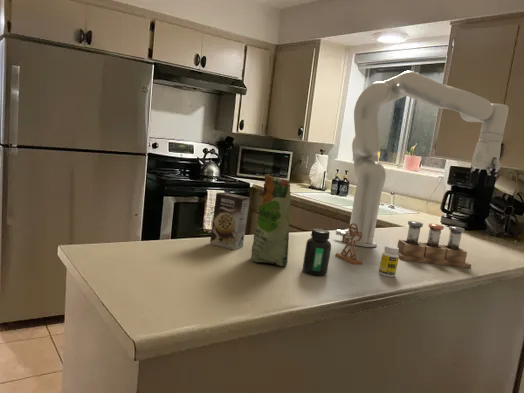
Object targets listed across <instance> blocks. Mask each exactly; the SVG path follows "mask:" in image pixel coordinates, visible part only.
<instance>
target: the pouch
mask: <svg viewBox="0 0 524 393" xmlns="http://www.w3.org/2000/svg"><path fill="white" fill-rule="evenodd" d="M261 197H262V202H260V203H259V204H258V208H257V210H258V212H259V213H258V214H259V215H258V216H257V224H256V227H255V229H254V233H253V242H252V246H251V255H250V260H251V261H252V262H253V263H265V264H270V265H277V266H280V267H285V266H287V265H288V260H289V259H288V256H289V255H288V254H289V242H290V241H289V240H290V239H289V238H290V237H289V236H290V213H291V207H292V206H291V205H292V199H291V183H290V181H289V180H286V179H284V178H283V179H282V178H278V176H277V175H276V176H275V177H274V176H271V175H270V174H269V173H266V174H265V175H264V184H263V192H262V193H261Z"/></svg>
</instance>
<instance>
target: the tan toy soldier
mask: <svg viewBox="0 0 524 393" xmlns="http://www.w3.org/2000/svg"><path fill="white" fill-rule="evenodd" d="M353 224H354V225H355V226H356V228H354V227H351V226H352V225H353ZM348 228H349V232H350V233H349V234H350V237H352V238H346V237H345V235H346V234H348V233H345V234H344V235H343V236H342V239H341V240H342V242H343V243H346V245H345V247H344V248H343V249H342V251H341V252H337V253H335V255H334V256H335V257H336V258H338V259H339V260H340V259H341V261H344V262H347V264H348V263H349V264H350V265H353V266H357V265H362V264H363V261H362V260H361V259H358V257H357V253H356V248H355V246H356V245H355V241H356V240H354V241H353V238H355V236H358V237H360V238H359V239H358V240H357V241H360V240H361V238H362V232H358V226H357V225H356V224H355V223H352V224H350V223H349V227H348ZM351 229H353V230H356V231H354V232H353V231H352V230H351ZM359 233H360V234H359ZM356 234H357V235H356ZM344 239H345V240H346V241H345V240H344ZM350 239H351V242H350V243H351V244H350V243H349V240H350ZM352 241H353V242H352ZM352 243H353V244H352ZM348 246H349V248H348ZM351 247H352V248H351ZM347 248H348V250H347ZM346 250H347V251H346ZM352 250H353V251H352Z"/></svg>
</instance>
